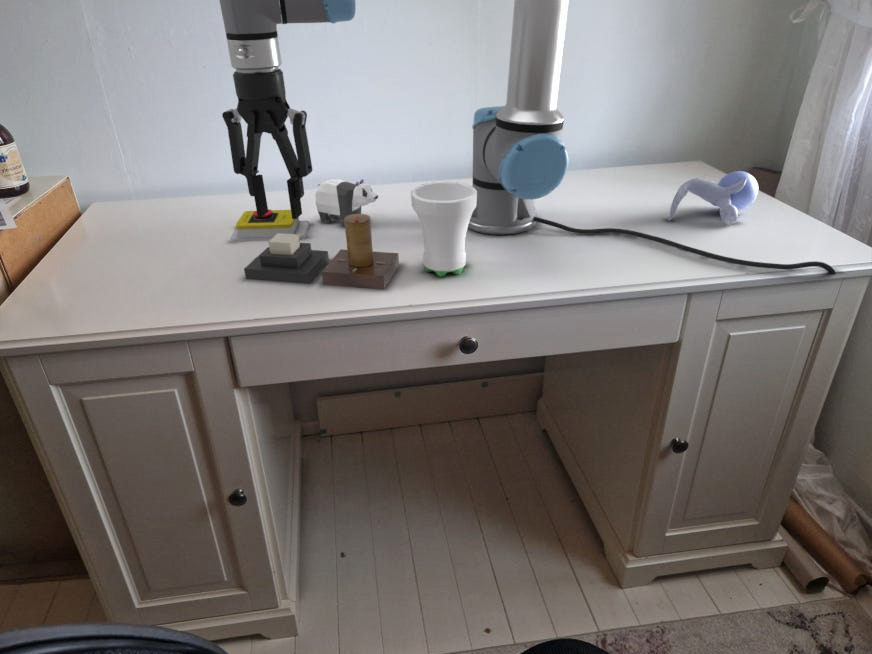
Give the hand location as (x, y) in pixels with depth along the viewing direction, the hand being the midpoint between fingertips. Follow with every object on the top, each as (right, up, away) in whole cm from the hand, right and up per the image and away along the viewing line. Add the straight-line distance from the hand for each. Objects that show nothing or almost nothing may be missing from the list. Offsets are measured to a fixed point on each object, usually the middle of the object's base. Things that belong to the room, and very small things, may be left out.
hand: (280, 214), depth 109 cm
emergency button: (-7, +1, +22) cm, 23 cm away
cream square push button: (0, -6, +4) cm, 7 cm away
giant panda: (+8, +4, +26) cm, 27 cm away
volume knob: (+14, -8, +2) cm, 16 cm away
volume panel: (+14, -10, +3) cm, 17 cm away
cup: (+29, -9, +5) cm, 30 cm away
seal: (+86, +5, +24) cm, 89 cm away
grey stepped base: (0, -9, +6) cm, 10 cm away
